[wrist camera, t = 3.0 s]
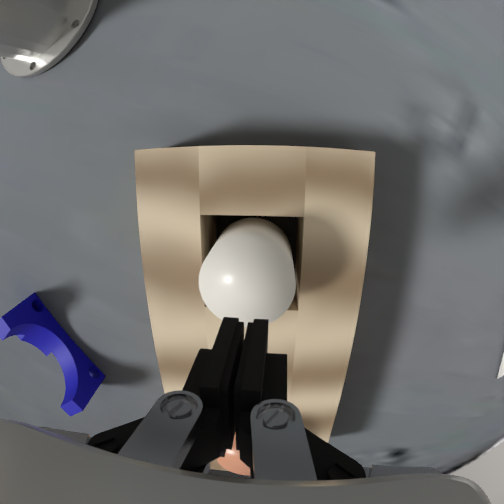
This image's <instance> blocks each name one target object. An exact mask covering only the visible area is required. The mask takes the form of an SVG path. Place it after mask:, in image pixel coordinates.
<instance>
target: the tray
mask: <svg viewBox="0 0 504 504" xmlns="http://www.w3.org/2000/svg"><path fill="white" fill-rule="evenodd" d="M502 376H504V354H503V358H502V362H501V366H500V369H499V374H498V377H496V379H497V378H500V377H502Z"/></svg>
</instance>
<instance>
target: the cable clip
mask: <svg viewBox="0 0 504 504" xmlns="http://www.w3.org/2000/svg"><path fill="white" fill-rule="evenodd" d="M13 335H17V336H18V337H19V339H20V340H22V341H26V342H28V343H30V344H32V345H34V346H36V347H37V348H38V349H40V350H41V351H42V352H43V353H44V354H45V355H46V356H47V355H48V354H50V353H51V352H52V353H53V354H54V356H55V357H56V358H57V360H58V362H59V364H60V366H61V368H62V370H63V373H64V377H65V384H66V391H65V397H64V400H63V402H62V404H61V406H60V407H61V408H62V409H63V410H64V411H65V412H66V413H67V414H68V415H70V416H72V415H74V414H77V413H79V412H81V411H83V410H84V408H85V407H86V405H87V404H88V402H89V401H90V399H91V397H92V396H93V394H94V393H95V391H96V390H97V388H98V387H99V385H100V384H101V382H102V381H103V379H104V378H105V375H104V374H103V373H102V372H101V371H100V370H99V369H98V368H97V367H96V366H95V364H94V363H93V362H92V361H91V360H90V359H89V358H88V357H87V356H86V355H85V354H84V353H83V351H82V350H81V349H80V348H79V347H78V346H77V345H76V344H75V342H74V341H73V340H72V339H71V338H70V337H69V335H68V334H67V333H66V332H65V331H64V329H63V328H62V327H61V326H60V324H59V323H58V322H57V321H56V320H55V318H54V317H53V316H52V314H51V313H50V312H49V311H48V309H47V308H46V307H45V305H44V304H43V303H42V301H41V300H40V299H39V297H38V296H37V295H36V293H33V294H32V295H30V296H29V297H28V298H26V299H25V300H24V301H22V302H21V303H20V304H18V305H17V306H16V307H14V308H13V309H12V310H10V311H9V312H8V313H6V314H5V315H4V316H2V317H1V319H0V338H1V340H2V341H3V340H4V339H6V338H7V337H10V336H13Z"/></svg>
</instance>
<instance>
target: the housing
mask: <svg viewBox="0 0 504 504" xmlns="http://www.w3.org/2000/svg"><path fill="white" fill-rule="evenodd" d="M374 171H375V152H372V151H361V150H350V149H337V148H322V147H303V146H271V145H222V146H191V147H172V148H156V149H144V150H135V173H136V193H137V209H138V222H139V234H140V244H141V254H142V263H143V271H144V279H145V287H146V294H147V301H148V308H149V314H150V320H151V326H152V332H153V338H154V343H155V349H156V354H157V359H158V364H159V369H160V374H161V379H162V383H163V388H164V392H165V394H166V393H168V392H172V391H179V390H183V387H184V385H185V382H186V380H187V378H188V375H189V373H190V370H191V368H192V366H193V363H194V361H195V358H196V356H197V354H198V351H199V350H200V349H201V348H203V349H212V348H213V345H214V342H215V339H216V337H217V334H218V331H219V328H220V326H221V323H222V320H221V319H220V318H218V317H217V316H216V315H214V314H213V313H212V312H211V311H210V310H209V308H208V307H207V306H206V304H205V303H204V301H203V299H202V296H201V293H200V290H199V272H200V269H201V266H202V264H203V262H204V260H205V259H206V257H207V255H208V254H209V252H210V251H211V249H212V248H213V246H214V244H215V243H216V241H217V230H216V215H246V216H286V217H298V222H297V244H296V263H295V280H296V289H295V295H294V298H293V301H292V303H291V305H290V306H289V308H288V309H287V310H286V312H285V313H284V314H283V315H282V316H281V317H279V318H278V319H276V320H275V321H273V322H271V323H269V324H268V350H267V353H276V354H287V401H289V402H290V403H292V404H294V405H295V406H296V407H297V408H298V409H299V411H300V413H301V416H302V420H303V424H304V427H305V428H306V429H308V430H309V431H311V432H312V433H314V434H315V435H317V436H318V437H319V438H321V439H322V440H324V441H326V442H327V443H328V441H329V437H330V434H331V430H332V427H333V423H334V420H335V416H336V413H337V409H338V405H339V401H340V397H341V393H342V389H343V385H344V381H345V377H346V373H347V368H348V364H349V359H350V354H351V350H352V345H353V340H354V335H355V330H356V324H357V319H358V313H359V307H360V301H361V295H362V289H363V282H364V275H365V268H366V260H367V252H368V244H369V235H370V225H371V214H372V202H373V188H374ZM246 330H247V327H244V339H245V334H246ZM210 469H215V470H224V471H228V470H226V469H224V468H223V467H222V466H221V465H220V464H219V463H218V461H217V459H215V460H213V461H211V468H210Z"/></svg>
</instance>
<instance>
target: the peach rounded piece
mask: <svg viewBox="0 0 504 504" xmlns="http://www.w3.org/2000/svg"><path fill="white" fill-rule="evenodd" d="M217 461H218V463H219V464H220V465H221V466H222V467H223V468H224V469H226V470H228V471H230V472H233V473H236V474H240V475H248V476H250V468H249V467H248V466H247V465H246V464H245V463H243V462H242V461H241V460H240V452H239V450H236V435H235V436H234V441H233V446H232V449H231V450H230V449H226V452H225V457H219V458H217Z"/></svg>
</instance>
